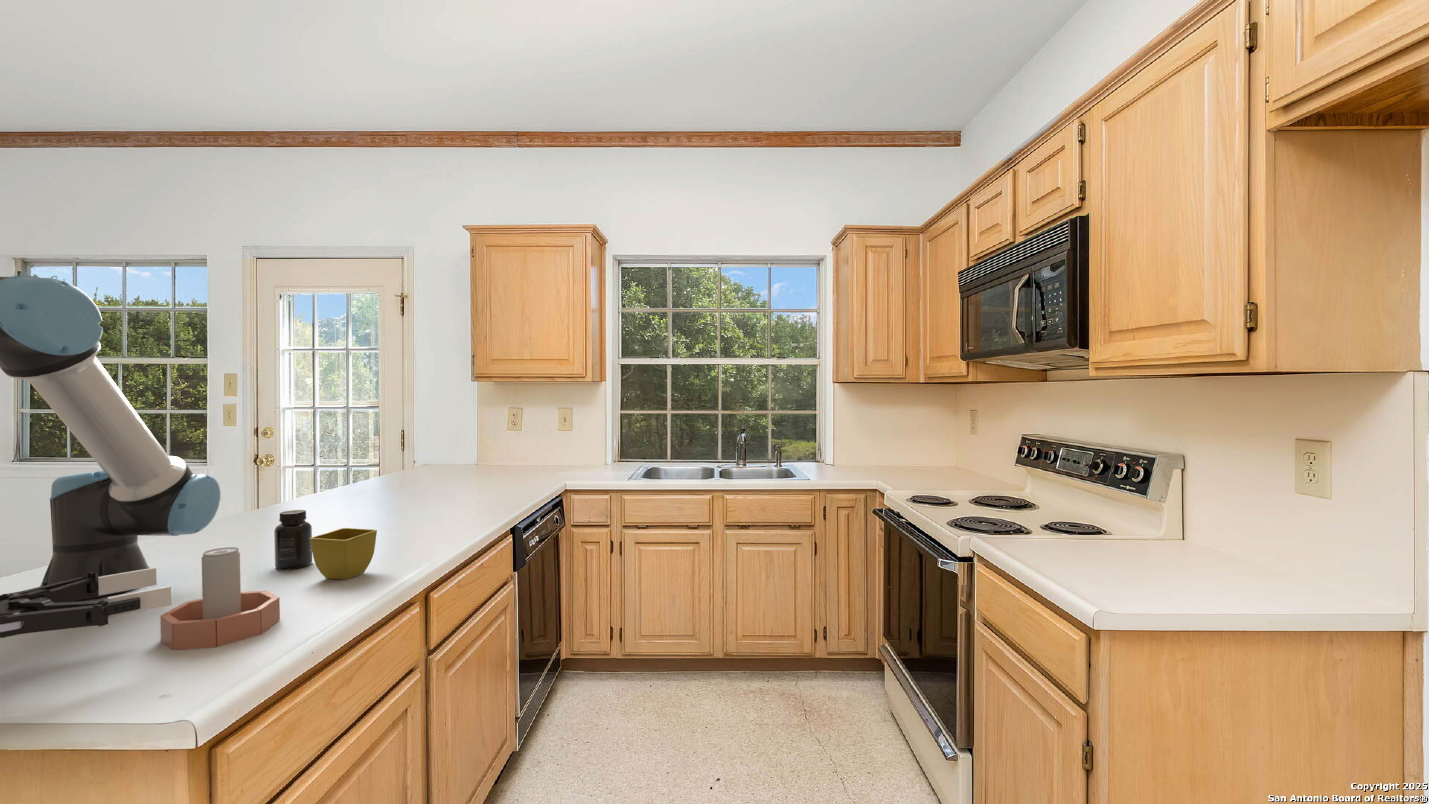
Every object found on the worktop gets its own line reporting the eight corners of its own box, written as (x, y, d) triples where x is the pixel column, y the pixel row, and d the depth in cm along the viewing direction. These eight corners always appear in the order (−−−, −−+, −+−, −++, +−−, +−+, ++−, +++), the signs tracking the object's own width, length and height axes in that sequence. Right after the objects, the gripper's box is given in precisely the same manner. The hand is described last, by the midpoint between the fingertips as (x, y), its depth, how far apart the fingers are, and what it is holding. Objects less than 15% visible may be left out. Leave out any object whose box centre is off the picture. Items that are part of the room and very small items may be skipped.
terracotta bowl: (141, 652, 91) (140, 625, 91) (201, 617, 104) (200, 594, 104) (246, 644, 93) (246, 619, 93) (292, 611, 107) (291, 589, 107)
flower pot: (346, 584, 122) (345, 539, 121) (309, 581, 123) (308, 537, 123) (378, 571, 130) (378, 529, 130) (343, 568, 132) (343, 527, 132)
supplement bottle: (319, 563, 136) (319, 509, 136) (289, 571, 130) (288, 516, 129) (297, 560, 138) (296, 507, 138) (267, 568, 132) (266, 513, 132)
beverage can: (217, 619, 101) (215, 547, 101) (248, 618, 101) (246, 546, 101) (195, 630, 96) (193, 555, 96) (227, 629, 97) (226, 554, 96)
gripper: (-54, 630, 85) (151, 591, 101) (-69, 688, 69) (178, 631, 85) (-56, 577, 85) (150, 546, 101) (-71, 622, 69) (177, 577, 85)
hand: (163, 585), depth 93 cm, fingers open, 13 cm apart
